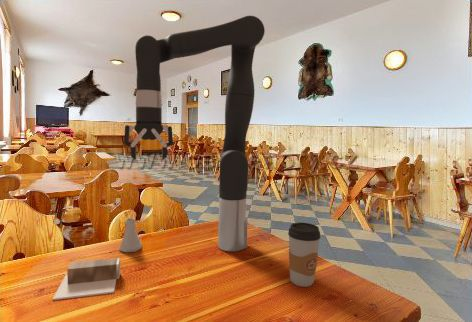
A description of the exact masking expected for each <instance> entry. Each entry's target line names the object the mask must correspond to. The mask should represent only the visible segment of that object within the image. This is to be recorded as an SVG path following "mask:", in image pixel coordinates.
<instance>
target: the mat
mask: <svg viewBox="0 0 472 322" xmlns="http://www.w3.org/2000/svg"><path fill="white" fill-rule="evenodd" d="M117 280H118V279H113V280H104V281H95V282H86V283H77V284H68V277H67V273H66V274H65V276H64V277H63V279H62V281H61V283H60V284H59V287H58V288H57V290H56V291H55V293H54V295H53V298H52V301H57V300H66V299H74V298H83V297H90V296H98V295H104V294H106V295H107V294H113V293H115V289H116V286H117V285H116V283H117Z"/></svg>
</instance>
